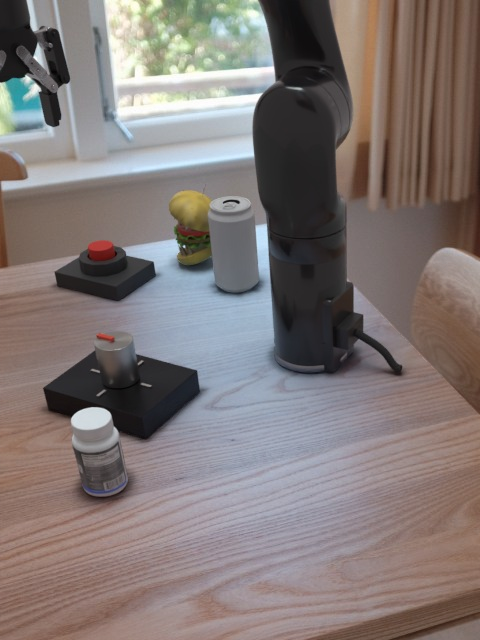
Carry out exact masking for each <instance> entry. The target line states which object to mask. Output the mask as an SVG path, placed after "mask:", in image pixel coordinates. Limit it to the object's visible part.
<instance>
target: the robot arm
mask: <svg viewBox="0 0 480 640" xmlns="http://www.w3.org/2000/svg"><path fill="white" fill-rule="evenodd" d="M257 2H258V4H259V6H260V9H261V11H262V14H263V18H264V21H265V24H266V29H267V32H268V37H269V43H270V44H269V45H270V48H271V55H272V62H273V72H274V80H275V81H274V83H272V84H271V85H270V86H269V87H267V88H266V89H265V90H264V91H263V92H262V93H261V95H260V96H259V97H258V99H257V101H256V102H255V103H256V104H255V105H254V109H253V114H252V123H251V125H252V127H251V128H252V129H251V130H252V149H253V157H254V166H255V175H256V184H257V192H258V193H257V194H258V197H259V198H258V199H259V202H260V204H261V206H262V209H263V210H264V213H265V219H266V232H267V233H266V234H267V248H268V249H267V250H268V267H269V281H270V297H271V313H272V328H273V343H274V347H273V354H274V358H275V361H276V362H277V363H278V364H279V365H280V366H282V367H283V368H285V369H288V370H291V371H293V372H299V373H323V372H325V373H326V372H327V373H332V374H333V373H335V371H336V370H337V369H338V368H339V367H340V366H341V365H342V364H343V363H345V362H346V361H347V359H348V358H349V357H350V356H351V355H352V354H353V353H354V351H355V344H356V343H358V341H359V340H360V342H363V343H364V344H366V345H368V346H369V347H371V348H372V349H374V350H375V351H376V352H378V353H379V354H380V356H382V358H383V359H384V360H385V362H386V363H387V365H388V366H389V367H390V369H391V370H392V371H394V372H395V373H399V374H400V373H402V371H403V364H399V363H398V362H397V361H396V359H395V358H394V357H393V355H392V353H391V352H390V351H389V350H388V349H387V347H385V345H383V344H382V343H380V342H379V341H378V340H376V339H375V338H374V337H372V336H370V335H369V334H367V333H365V332H364V314H363V313H359V312H355V293H354V292H355V285H354V283H353V282H352V281H348V235H347V234H348V231H347V230H348V228H347V227H348V226H347V223H348V216H347V215H348V212H347V209H348V208H347V207H348V206H347V201H346V199H345V197H344V195H343V194H342V193H341V192H339V191H338V180H337V179H338V177H337V176H338V175H337V149H339V147H340V146H341V145H342V144H343V143H344V142H345V140H346V139H347V137H348V136H349V133H350V131H351V128H352V125H353V121H354V101H353V96H352V91H351V86H350V82H349V79H348V75H347V70H346V66H345V63H344V59H343V55H342V51H341V47H340V43H339V40H338V35H337V31H336V27H335V22H334V17H333V13H332V7H331V1H330V0H257ZM38 46H39V48H40V49H42V51H43V53H44V56H45V61H46V66H47V69H48V71H47V70H46V69H45V68H44V67H43V66H42V64H40V62H38V61H37V59H36V58H35V57H34V56H35V54H36V51H37V47H38ZM48 72H49V74H48ZM26 77H28V78H29V79H31V81H33V83H34V84H35V85H37V87H38V88H39V89H40V91H38V97H39V100H40V105H41V110H42V115H43V120H44V122H45V125H47V126H49V127H52V128H56V127H59V126H60V121H61V120H62V110H61V107H60V101H59V96H58V91H59V89H60V87H62V86H63V85H68V84H69V83H70V81H71V76H70V71H69V67H68V64H67V58H66V54H65V50H64V47H63V43H62V38H61V34H60V31H59V30H58V29H56V28H54V27H51V26H48V25H47V26H46V25H40V27H39V28H38V29H37V30H33V28H32V25H31V15H30V11H29V6H28V0H0V84H3V83H7V82H9V81H11V80H12V79H24V78H26Z"/></svg>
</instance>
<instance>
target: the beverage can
mask: <svg viewBox="0 0 480 640" xmlns="http://www.w3.org/2000/svg"><path fill="white" fill-rule="evenodd" d="M208 222H209V231H210V240H211V250H212V256H211V260H212V268H213V277H214V283H215V285H216V286H217V287H219V288H221V289H222V291H224V292H228V293H234V294H235V293H245V292H247V291H249V290H251V289H253V288H254V287H255V286H256V285H257V284H258V283H259V281H260V271H259V270H260V269H259V257H258V243H257V230H256V229H257V228H256V214H255V210H254V209H253V207H252V202H251V201H250V199H249V198H246V197H243V196H238V195H229V196H228V195H227V196H221V197H218V198H215V199H212V202H211V203H210V210H209V212H208Z"/></svg>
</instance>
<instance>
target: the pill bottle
mask: <svg viewBox="0 0 480 640" xmlns="http://www.w3.org/2000/svg"><path fill="white" fill-rule="evenodd" d="M70 425H71V431H72V434H73V435H72V437H71V446H72V449H73V453H74V456H75V461H76V465H77V470H78V474H79V477H80V481H81V485H82V488H83V490H84V491H85V492H86V494H88V495H90V496H92V497H98V498H99V497H100V498H101V497H110V496H115V495H116V494H118V493H120V492H121V491H123V490H124V489H125V488H126V486H127V485H128V481H129V477H128V471H127V466H126V461H125V456H124V451H123V447H122V442H121V437H120V432H119V431H117V429H116V428H115V427H114V426H113V420H112V416H111V414H110V412H109V411H107V410H106V409H103V408H98V407H91V408H86V409H83V410H80V411H78V412H77V413H75V414H74V415H73V416H72V417H71V418H70Z"/></svg>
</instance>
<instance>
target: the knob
mask: <svg viewBox="0 0 480 640" xmlns="http://www.w3.org/2000/svg"><path fill="white" fill-rule="evenodd" d="M93 346H94V351H95V352H96V356H97V361H98V366H99V371H100V375H101V380H102V383H103V384H104V385H105V386H107V387H110V388H125V387H129V386H131V385H133V384H135V383H136V382H137V381H138V380H139V378H140V374H139V368H138V362H137V357H136V354H137V352H136V347H135V346H136V345H135V341H134V336H133V335H132V334H131V333H129V332H126V331H121V330H113V331H108V332H104V333H101V332H99V333H97V334H96V338H94V341H93Z"/></svg>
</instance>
